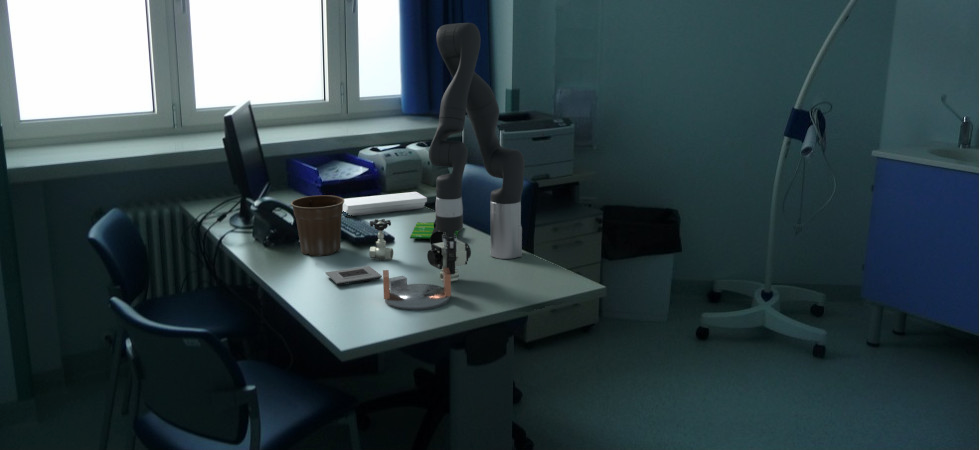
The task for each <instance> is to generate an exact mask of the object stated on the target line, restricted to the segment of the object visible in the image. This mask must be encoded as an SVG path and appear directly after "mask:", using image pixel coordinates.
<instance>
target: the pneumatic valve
mask: <svg viewBox="0 0 980 450" xmlns="http://www.w3.org/2000/svg"><path fill="white" fill-rule="evenodd" d="M430 245H431V246H430V249H428V251H427V255H426V256H427V261H428V263H429V265H430V266H432V267H434V268H436V269H438V270H440V272H439V279H440V280H441V281H442V282H443V268H447V261H446V259H447V254H446V253H445V249H447V246H446V247H444V244H443V242H441V243H436V244H430ZM471 256H472V250H471V247H470V245H469V244H468V243H467V242H466V241H462V240H461V239H457V252H456V258H457V260H456V261H455V274H452V275H451V283H454V282H458V281H459V277H460V271H459V269H457V267H459V266H460V267H461V266H465V265H468V262H469V258H471ZM449 257H453V254H449Z"/></svg>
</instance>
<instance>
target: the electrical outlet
mask: <svg viewBox="0 0 980 450" xmlns="http://www.w3.org/2000/svg"><path fill="white" fill-rule="evenodd" d="M325 275H327V276H328V277H329V278H330V280H332V281H333V282H334V283H336V285H338V286H341V285H348V284H355V283H361V282H367V281H368V282H369V281H375V280H379V279H382V278H383V274H382V275H381V274H380V273H379V272H378V271H376V270H375V269H374V268H373V267H371V266H370V265H365V266H359V267H352V268H345V269H338V270H331V271H325Z"/></svg>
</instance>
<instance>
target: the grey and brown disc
mask: <svg viewBox="0 0 980 450" xmlns="http://www.w3.org/2000/svg"><path fill="white" fill-rule="evenodd" d="M389 271H390V270H389V269H385V270H384V269H383V270H382V282H383V284H382V285H383V300H384V302H385V304H386V305H387V306H389V307H391V308H393V309H397V310H400V311H401V310H402V311H411V312H412V311H427V310H432V309H437V308H440V307H442V306H445V305H446V304H447V303H448V302H449V301H450V297H451V296H452V291H451V290H452V285H451V284H452V282H451V274H450V270H449V268H443V281H442V282H443V284H442V285H443V286H440V285H437V284H431V283H430V284H429V283H409V284H408V283H407V285H401V286H397V287H394V288H392V289H390V288H389V278H390V275H389V274H390V272H389Z"/></svg>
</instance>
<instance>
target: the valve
mask: <svg viewBox="0 0 980 450" xmlns="http://www.w3.org/2000/svg"><path fill="white" fill-rule="evenodd" d="M369 225H370V228H371V227H373V228H374V229H375V230H376V231H377V232H378V233H377V238H378V239H377V241H375V245H376V246H370V248H369V250H368V251H369V254H368V255H369V258H370V259H372V260H373V259H374V260H379V261H384V260H388V261H392V260H393V258H394V249H393V248H392V247H386V246H387V241H386V240H385V239H384V238H385V234H384V232H383V231H384V230H386V229H387V228H388V226H389V227H390V226H392V222H391V219H385V218H381V219H380V220H379V219H378V218H377V219H374V220H370V221H369Z"/></svg>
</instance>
